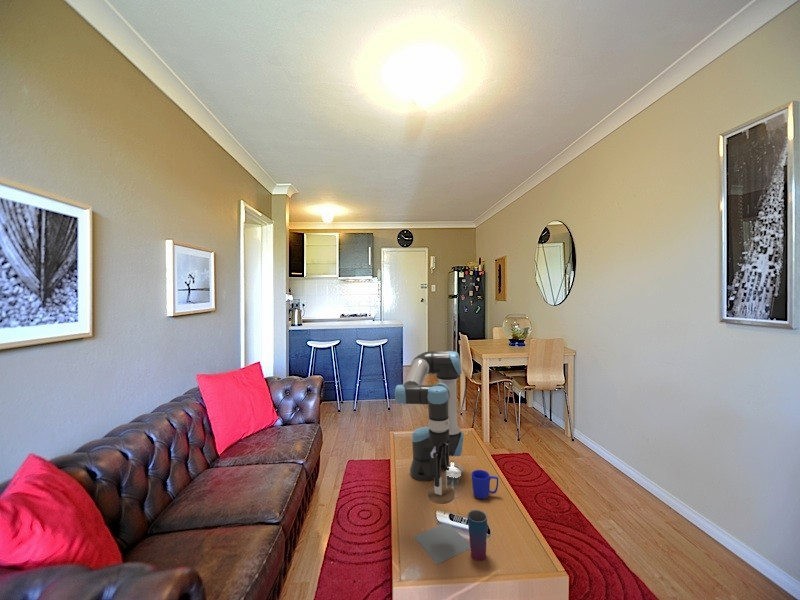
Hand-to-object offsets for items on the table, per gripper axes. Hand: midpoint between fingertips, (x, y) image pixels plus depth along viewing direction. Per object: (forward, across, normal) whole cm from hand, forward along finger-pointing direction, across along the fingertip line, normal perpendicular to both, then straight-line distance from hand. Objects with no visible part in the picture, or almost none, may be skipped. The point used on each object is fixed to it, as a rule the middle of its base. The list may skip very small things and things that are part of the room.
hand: (440, 490), depth 128 cm
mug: (+21, +37, -5) cm, 43 cm away
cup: (+20, -1, -14) cm, 25 cm away
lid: (+2, 0, 0) cm, 2 cm away
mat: (+20, -1, 0) cm, 20 cm away
